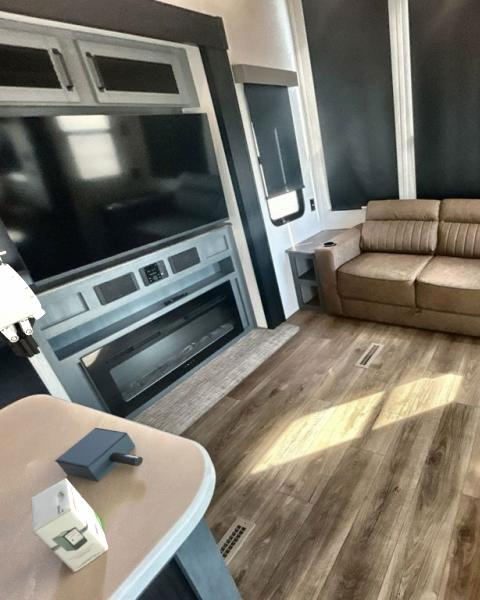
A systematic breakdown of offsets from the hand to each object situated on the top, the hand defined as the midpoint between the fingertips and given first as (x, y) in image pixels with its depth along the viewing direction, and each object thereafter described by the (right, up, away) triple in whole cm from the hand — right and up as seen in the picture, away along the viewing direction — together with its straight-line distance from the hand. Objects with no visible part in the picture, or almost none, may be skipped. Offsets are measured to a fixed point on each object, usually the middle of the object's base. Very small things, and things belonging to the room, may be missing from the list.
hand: (30, 354), depth 69 cm
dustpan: (+8, -21, +7) cm, 23 cm away
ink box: (+17, -32, -6) cm, 37 cm away
